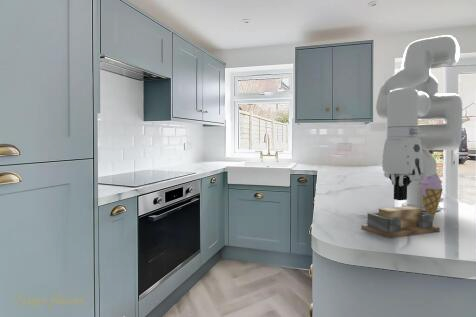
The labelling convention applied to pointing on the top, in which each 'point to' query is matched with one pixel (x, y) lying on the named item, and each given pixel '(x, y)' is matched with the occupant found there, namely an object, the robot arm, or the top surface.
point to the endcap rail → (398, 225)
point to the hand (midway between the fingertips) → (400, 199)
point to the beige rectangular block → (403, 215)
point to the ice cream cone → (431, 192)
